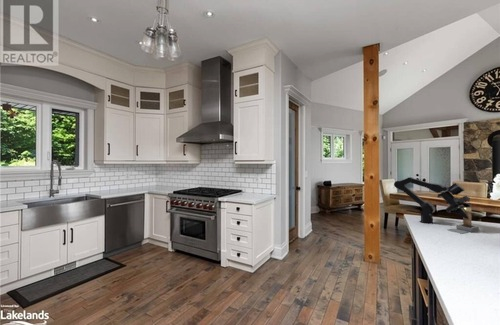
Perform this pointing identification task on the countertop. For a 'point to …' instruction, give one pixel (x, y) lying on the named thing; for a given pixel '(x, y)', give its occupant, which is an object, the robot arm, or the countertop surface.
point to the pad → (457, 231)
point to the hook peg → (468, 221)
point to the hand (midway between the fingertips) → (469, 218)
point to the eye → (468, 228)
